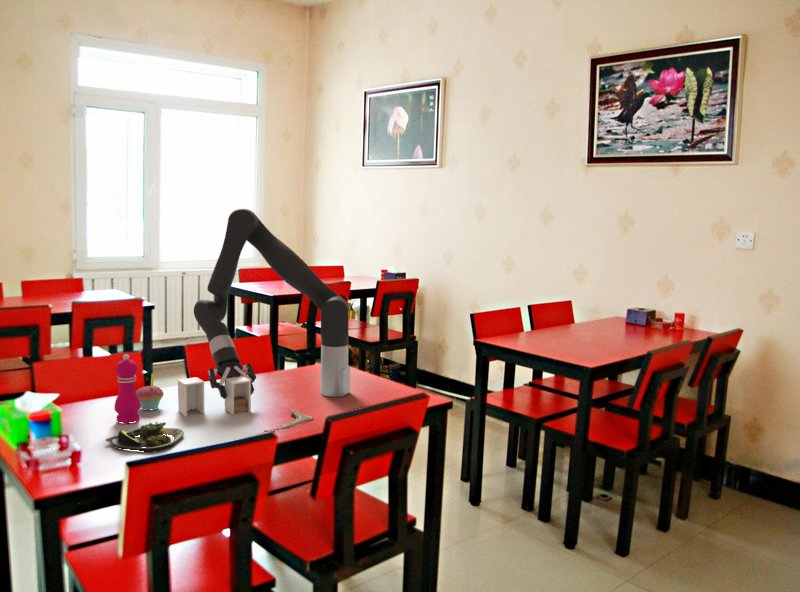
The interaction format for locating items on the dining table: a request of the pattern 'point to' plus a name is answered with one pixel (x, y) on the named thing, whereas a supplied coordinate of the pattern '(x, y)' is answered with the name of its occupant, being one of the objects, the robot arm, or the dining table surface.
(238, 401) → the walnut cube
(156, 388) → the cupcake
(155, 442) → the salad plate
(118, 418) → the pepper mill
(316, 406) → the dining table surface
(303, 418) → the jawbone
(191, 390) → the hood empty
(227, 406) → the hood cube
